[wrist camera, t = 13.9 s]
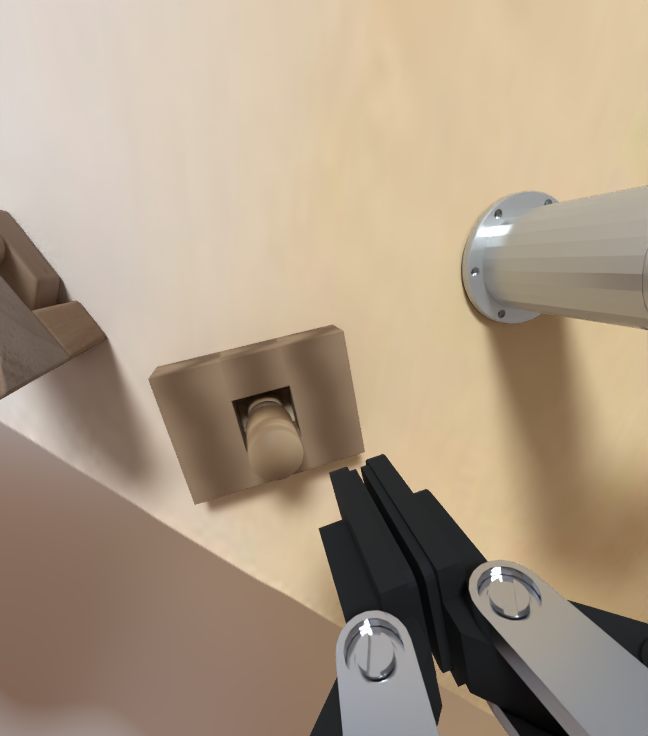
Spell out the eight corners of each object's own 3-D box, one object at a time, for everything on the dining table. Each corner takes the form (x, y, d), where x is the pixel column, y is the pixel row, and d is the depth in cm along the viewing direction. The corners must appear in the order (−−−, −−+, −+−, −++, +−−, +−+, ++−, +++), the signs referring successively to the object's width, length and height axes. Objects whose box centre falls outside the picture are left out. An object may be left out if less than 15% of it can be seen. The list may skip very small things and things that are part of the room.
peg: (279, 380, 34) (297, 424, 25) (287, 416, 35) (308, 471, 26) (239, 391, 33) (242, 440, 24) (249, 427, 35) (256, 487, 25)
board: (332, 324, 34) (343, 331, 30) (353, 435, 38) (364, 452, 34) (157, 367, 31) (148, 379, 28) (198, 482, 35) (194, 504, 32)
